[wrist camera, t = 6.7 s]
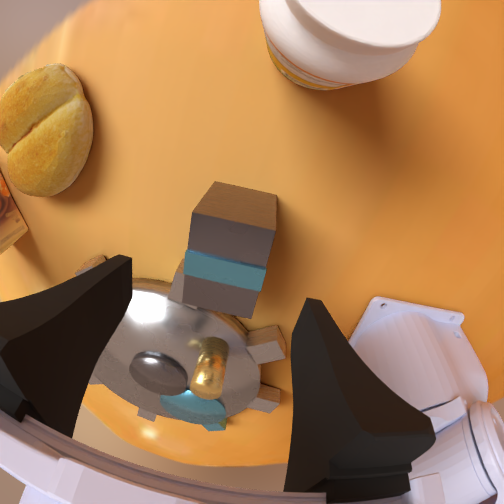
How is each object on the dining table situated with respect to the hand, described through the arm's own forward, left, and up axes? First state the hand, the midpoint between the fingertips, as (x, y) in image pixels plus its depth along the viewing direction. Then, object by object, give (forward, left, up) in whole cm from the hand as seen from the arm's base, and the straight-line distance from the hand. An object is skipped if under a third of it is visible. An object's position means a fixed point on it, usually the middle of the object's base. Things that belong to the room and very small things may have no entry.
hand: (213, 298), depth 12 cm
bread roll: (+14, -4, -8) cm, 17 cm away
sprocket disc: (+4, +14, -7) cm, 16 cm away
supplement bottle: (-2, -11, -7) cm, 14 cm away
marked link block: (0, 0, -7) cm, 7 cm away
